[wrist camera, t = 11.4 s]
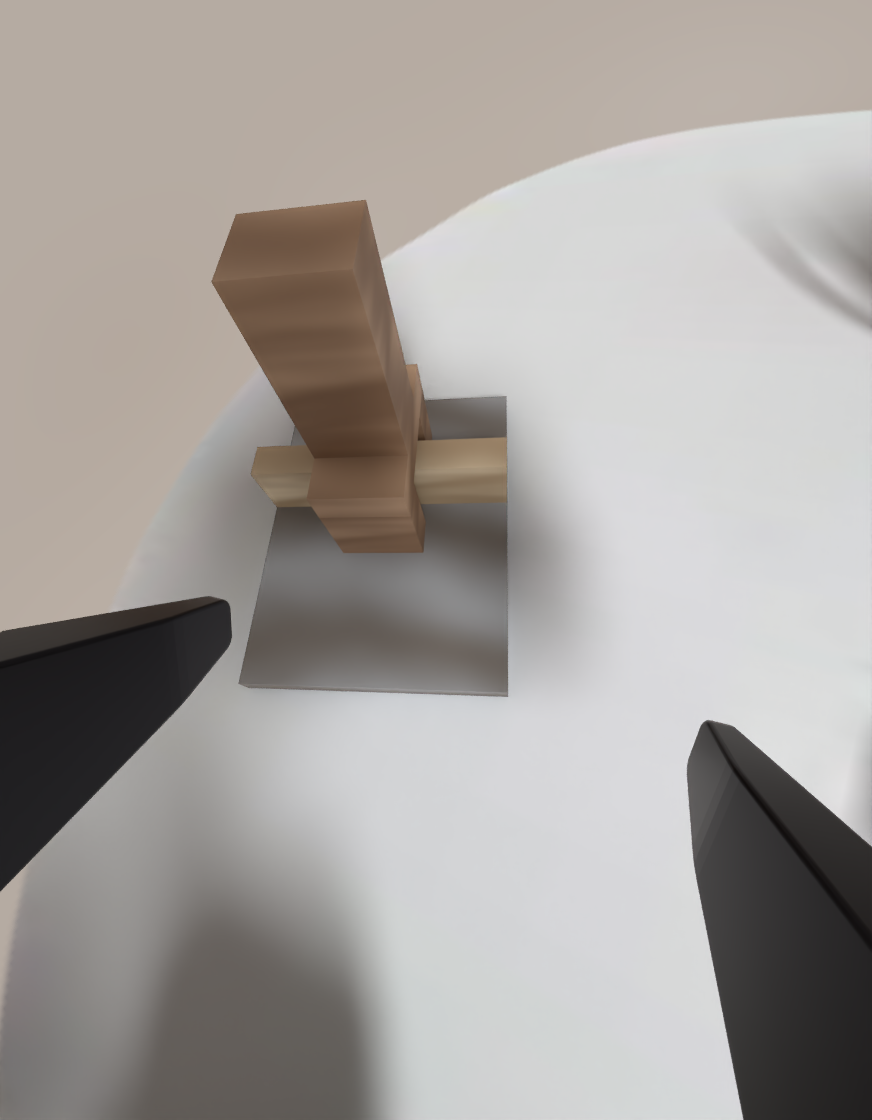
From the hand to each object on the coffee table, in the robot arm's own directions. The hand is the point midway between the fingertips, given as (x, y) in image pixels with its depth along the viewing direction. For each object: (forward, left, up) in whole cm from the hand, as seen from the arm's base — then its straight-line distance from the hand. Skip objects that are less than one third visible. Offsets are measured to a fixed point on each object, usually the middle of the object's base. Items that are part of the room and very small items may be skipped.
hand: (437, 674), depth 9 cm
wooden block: (+12, +5, -12) cm, 18 cm away
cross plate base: (+10, +5, -13) cm, 17 cm away
